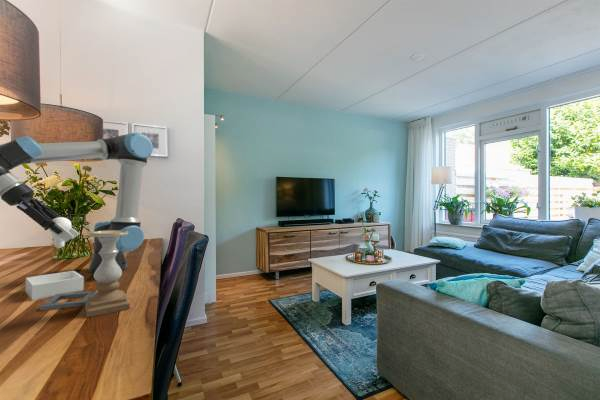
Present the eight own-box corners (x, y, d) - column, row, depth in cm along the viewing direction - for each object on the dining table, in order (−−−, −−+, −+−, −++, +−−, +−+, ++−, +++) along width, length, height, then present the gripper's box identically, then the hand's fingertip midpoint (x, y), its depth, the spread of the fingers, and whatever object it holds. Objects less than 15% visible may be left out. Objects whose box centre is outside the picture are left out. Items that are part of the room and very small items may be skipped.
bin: (73, 283, 108) (73, 270, 108) (83, 290, 100) (83, 277, 100) (25, 291, 98) (25, 277, 98) (32, 300, 89) (32, 285, 89)
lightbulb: (57, 250, 92) (58, 217, 92) (42, 249, 93) (43, 217, 93) (75, 247, 98) (76, 217, 98) (61, 246, 99) (62, 216, 99)
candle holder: (84, 306, 86) (86, 231, 86) (125, 298, 93) (127, 229, 93) (85, 318, 77) (88, 234, 77) (130, 308, 84) (132, 232, 84)
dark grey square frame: (55, 298, 92) (55, 294, 92) (96, 293, 97) (96, 290, 97) (39, 310, 82) (39, 306, 82) (86, 305, 86) (86, 301, 86)
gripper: (15, 197, 97) (72, 241, 104) (-18, 198, 80) (52, 250, 87) (35, 183, 99) (89, 227, 106) (7, 181, 82) (74, 233, 89)
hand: (72, 237), depth 97 cm, fingers closed on lightbulb, 6 cm apart
